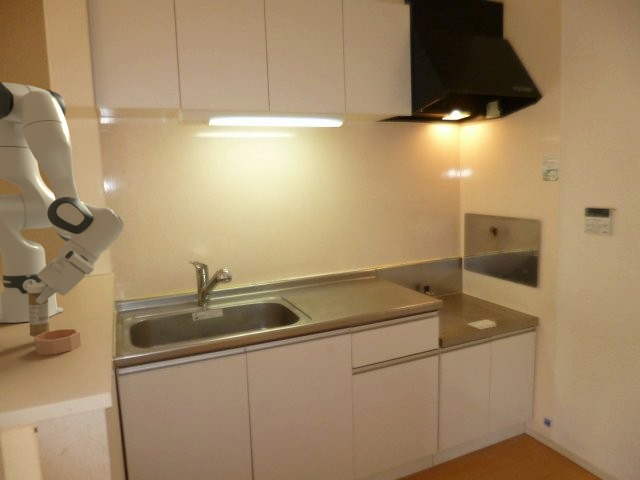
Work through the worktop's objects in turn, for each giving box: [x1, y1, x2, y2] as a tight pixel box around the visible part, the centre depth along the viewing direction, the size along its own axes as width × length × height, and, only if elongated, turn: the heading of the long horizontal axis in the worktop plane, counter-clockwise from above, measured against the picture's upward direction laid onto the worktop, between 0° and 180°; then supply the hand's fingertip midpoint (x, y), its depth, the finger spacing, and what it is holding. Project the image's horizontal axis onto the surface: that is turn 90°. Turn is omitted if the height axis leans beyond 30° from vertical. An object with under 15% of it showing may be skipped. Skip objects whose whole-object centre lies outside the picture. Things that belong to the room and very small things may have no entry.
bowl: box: [33, 328, 82, 356], centre depth 107 cm, size 9×9×4 cm
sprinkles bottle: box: [27, 283, 51, 338], centre depth 111 cm, size 5×5×13 cm
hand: (35, 300), depth 111 cm, fingers open, 4 cm apart
